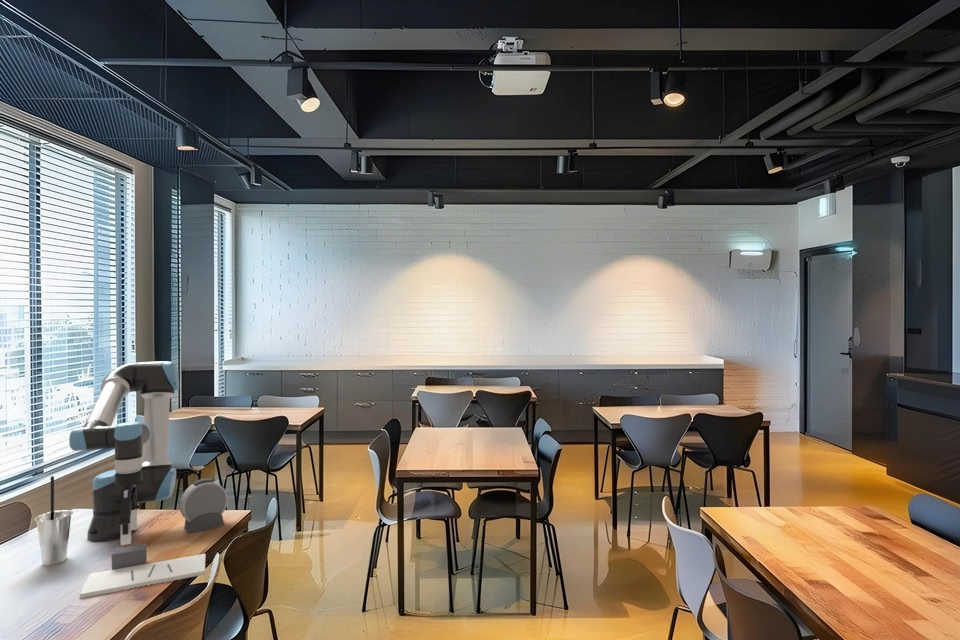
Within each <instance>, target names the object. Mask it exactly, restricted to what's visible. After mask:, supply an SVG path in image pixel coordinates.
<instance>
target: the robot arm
mask: <svg viewBox="0 0 960 640" xmlns="http://www.w3.org/2000/svg"><path fill="white" fill-rule="evenodd" d="M176 365H177V364H175V362H173V361H163V360H161V361H159V360H158V361H142V362H139V361H138V362H136V361H135V362H134V361H133V362H132V361H131V362H127V363H125V364H122V365H120V366H118V367H116V368H115V369H113V370H112V371H110V372H109V373H108V374H107V375H106V376H105V377H104V379H103V380H102V382H101V384H100V393H99V395H98V397H97V399H96V401H95V404H94V405H93V408H92V409H91V411H90V414H89V415H88V417H87V418H86V419H87V420H86V421H85V423H84V425H83V427H82V426H80V427H77V428H73V429H72V430H71V431H70V433H69V438H68V440H69V441H68V443H69V447H70V449H71V450H72V451H74V452H81V451H84V452H87V451H97V450H106V449H114V461H113V462H112V465H113V466H114V469H112V470H108V471H105V472H102V473H99V474H97V475H96V476H95V477H94V478H93V480H92V488H91V490H92V517H91V521H90V523H89V526H88V530H87V534H86V535H87V540H88V541H92V542H103V541H104V542H105V541H112V540H116V539H120V546H124V545H125V546H126V545H130V544H132V534H133V533H134V532H135V531H136V530H138V509H140V503H141V504H142V503H150V502H151V503H152V502H159V501H166V500H168V499H170V498H171V497H172V495H173V494H174V490H175V485H176V481H177V469H176V468H174V467H172V465H173V464H172V462H171V461H170V460H168V459H169V458H168V456H169V453H168V452H169V431H170V430H169V428H170V404H171V403H170V402H171V398H173V396H175V391H178V390H179V389H180V380H179V378H180V377H179V372H178V367H177V366H176ZM132 392H136V393H137V392H140V397H141V398H142V399H143V400H144V410H143V411H144V412H143V413H144V414H143V422H139V421H126V422H121V423H117V424H116V425H112V424H113V423H114V420H115V418H116V416H117V414H118V411H119V409H120V407H121V405H122V402H123V400H124V398H125V397H127V396H128V395H129V393H132Z"/></svg>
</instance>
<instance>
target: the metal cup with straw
mask: <svg viewBox="0 0 960 640" xmlns="http://www.w3.org/2000/svg"><path fill="white" fill-rule="evenodd" d="M49 508H50V511H49V512H45V513H42V514H40V515H38V516H36V517H35V518H34V521H36V528H37V535H38V543H39V548H40V554H41V562H42V563H41V564H42V565H43V566H53V565H58V564H60V563H64V562H65V561H66V560H67V557H68V549H69V548H68V546H69V538H70V531H71V530H70V529H71V520H72V515H73V513H74V510H71V509H70V510H69V509H68V510H67V509H62V510H55V476H50V507H49Z"/></svg>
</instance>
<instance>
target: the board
mask: <svg viewBox="0 0 960 640" xmlns="http://www.w3.org/2000/svg"><path fill="white" fill-rule="evenodd" d="M206 557H207V555H206V553H201V554H196V555H190V556H183V557H179V558H177V557H176V558H172V559H168V560H160V561H156V562H151V563H146V564H143V565H137V566H132V567H126V568H120V569H115V570H112V569H110V570H104V571H98V572H92V573H90V574H89V575H88V577H87V580H86V581H85V584H84V586H83V588H82V589H81V592H80V594H79V599H83V598H89V597H94V596H99V595H106V594H109V593H115V592H121V591H126V590H131V589H130V588H132V589H135V588H134V587H137V588H140V587H139V586H142V587H144V586H143V585H147V586H151V585H150V584H153V585H157V584H156V583H158V584H161V582H163V583H168V582H173V581H178V580H183V579H188V578H189V579H190V578H193V577H199V576H203V575H204V576H205V572H206Z"/></svg>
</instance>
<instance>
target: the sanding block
mask: <svg viewBox="0 0 960 640" xmlns="http://www.w3.org/2000/svg"><path fill="white" fill-rule="evenodd" d="M147 544H148V543H142V544H134V545H130V546H129V545H128V546H124V547H118V548H114V549H113V551H112V553H111V570H115V569H120V568H126V567H132V566H137V565H143V564H147V563H148V560H147V559H148V557H147V553H148V552H147Z"/></svg>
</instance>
